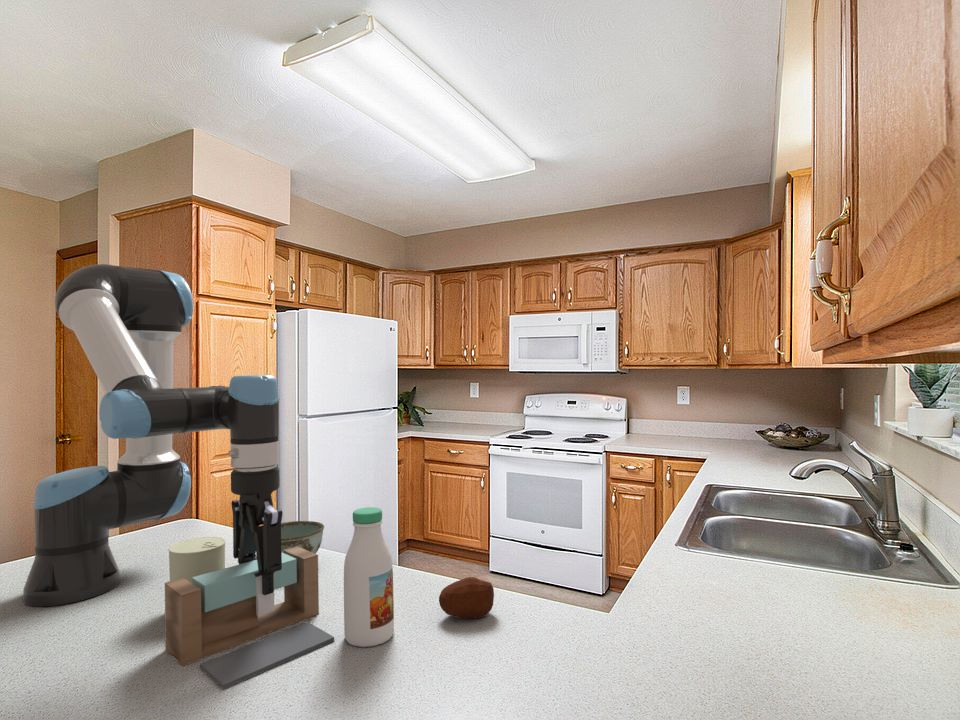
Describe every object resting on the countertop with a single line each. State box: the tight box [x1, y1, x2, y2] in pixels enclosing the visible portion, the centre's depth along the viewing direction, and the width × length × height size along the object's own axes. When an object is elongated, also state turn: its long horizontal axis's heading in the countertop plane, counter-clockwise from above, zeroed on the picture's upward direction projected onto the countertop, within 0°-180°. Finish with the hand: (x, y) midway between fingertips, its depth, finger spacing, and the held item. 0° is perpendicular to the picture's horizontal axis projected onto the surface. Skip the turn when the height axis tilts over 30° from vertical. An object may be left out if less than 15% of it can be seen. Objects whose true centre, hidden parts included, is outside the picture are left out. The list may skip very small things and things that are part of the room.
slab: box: [192, 553, 297, 612], centre depth 90 cm, size 5×15×4 cm, turn 137°
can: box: [168, 536, 226, 583], centre depth 98 cm, size 9×9×12 cm
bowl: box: [281, 520, 325, 554], centre depth 119 cm, size 14×13×8 cm
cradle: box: [164, 546, 320, 667], centre depth 90 cm, size 7×22×10 cm, turn 137°
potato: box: [438, 576, 495, 620], centre depth 93 cm, size 7×9×6 cm
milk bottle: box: [343, 506, 395, 648], centre depth 87 cm, size 8×8×20 cm
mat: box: [199, 621, 335, 690], centre depth 82 cm, size 8×17×1 cm, turn 137°
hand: (257, 607), depth 91 cm, fingers closed on slab, 5 cm apart
